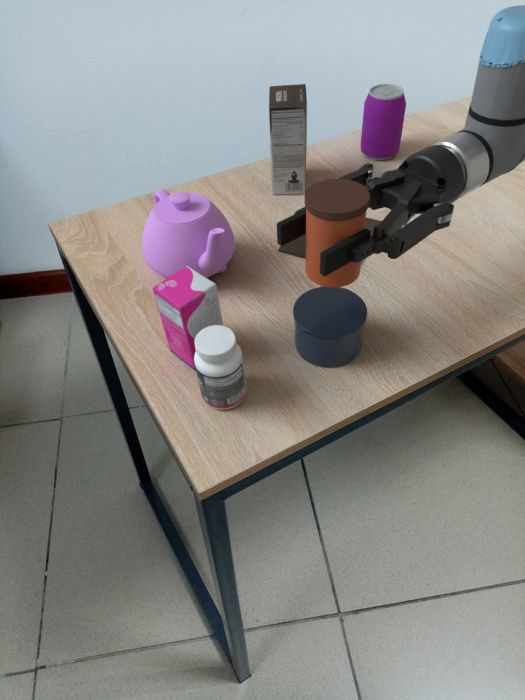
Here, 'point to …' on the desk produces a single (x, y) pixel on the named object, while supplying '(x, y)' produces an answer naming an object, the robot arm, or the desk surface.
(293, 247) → the plate
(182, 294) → the supplement box
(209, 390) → the pill bottle
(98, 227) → the desk surface
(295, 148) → the coffee box
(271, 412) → the desk surface
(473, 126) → the robot arm
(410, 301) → the desk surface
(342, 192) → the canister
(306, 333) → the tin
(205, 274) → the teapot
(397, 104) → the beverage can
